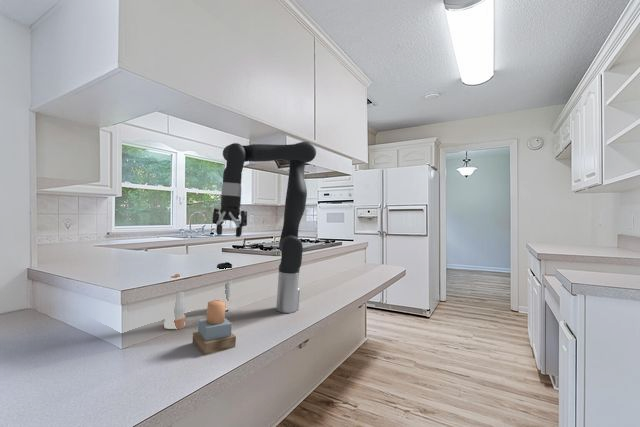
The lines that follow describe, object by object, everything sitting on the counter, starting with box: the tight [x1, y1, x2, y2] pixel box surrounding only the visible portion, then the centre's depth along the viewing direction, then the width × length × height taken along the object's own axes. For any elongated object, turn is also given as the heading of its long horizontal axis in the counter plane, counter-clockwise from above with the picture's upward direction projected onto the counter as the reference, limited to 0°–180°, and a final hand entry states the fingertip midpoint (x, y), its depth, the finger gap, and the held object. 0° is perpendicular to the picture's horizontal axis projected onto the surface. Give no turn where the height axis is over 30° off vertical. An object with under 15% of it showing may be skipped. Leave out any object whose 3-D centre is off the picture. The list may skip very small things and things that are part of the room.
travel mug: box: [216, 261, 233, 301], centre depth 136 cm, size 6×7×20 cm
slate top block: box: [197, 317, 233, 341], centre depth 103 cm, size 8×8×4 cm
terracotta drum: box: [205, 299, 226, 324], centre depth 103 cm, size 6×6×6 cm
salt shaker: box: [170, 273, 186, 331], centre depth 115 cm, size 7×7×19 cm
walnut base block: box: [191, 331, 237, 356], centre depth 102 cm, size 10×10×4 cm
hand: (228, 235), depth 125 cm, fingers open, 8 cm apart
